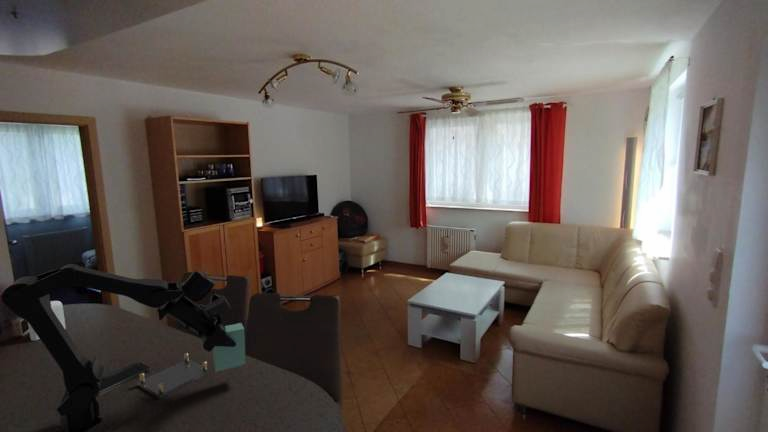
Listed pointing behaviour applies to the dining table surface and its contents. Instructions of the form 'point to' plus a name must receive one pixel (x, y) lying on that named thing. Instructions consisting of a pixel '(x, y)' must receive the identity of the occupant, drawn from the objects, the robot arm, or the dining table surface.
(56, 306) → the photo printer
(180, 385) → the chassis
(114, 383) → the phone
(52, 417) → the dining table surface
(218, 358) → the teal rectangular block
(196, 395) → the dining table surface
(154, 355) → the dining table surface
